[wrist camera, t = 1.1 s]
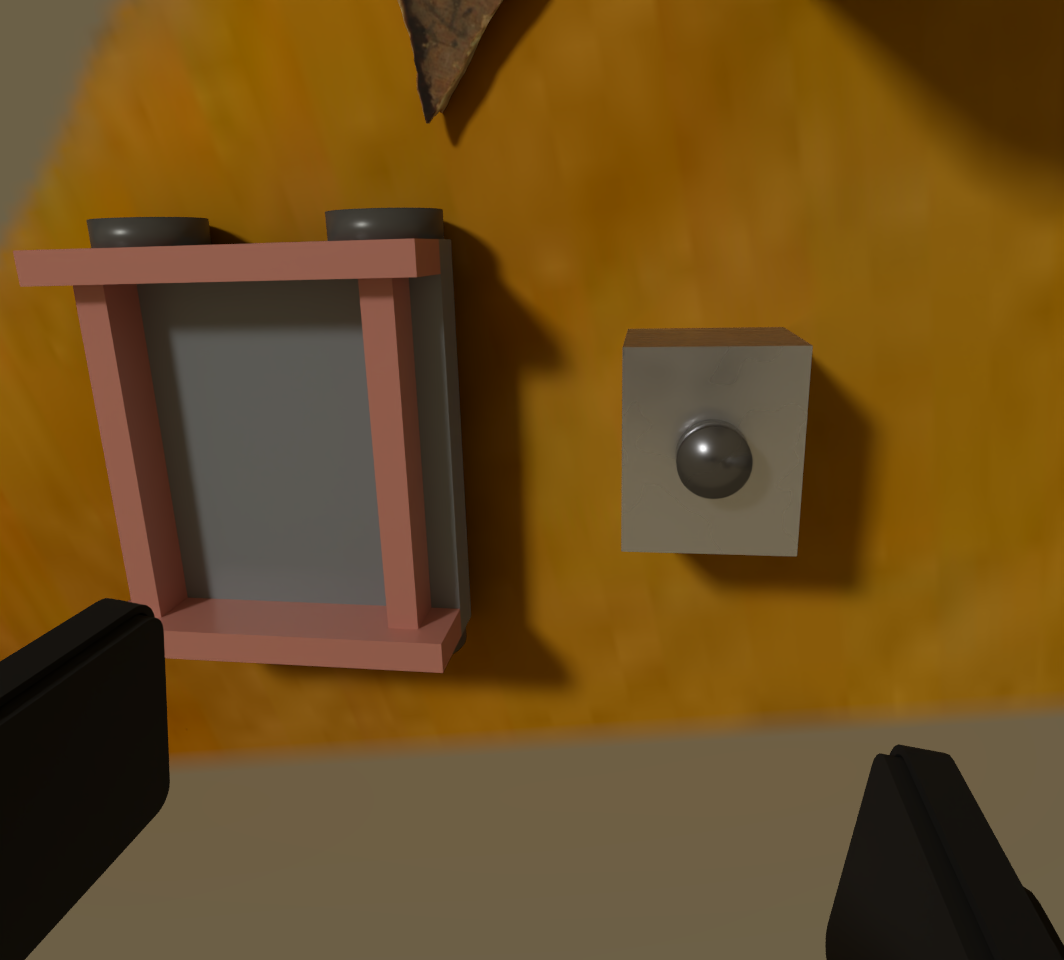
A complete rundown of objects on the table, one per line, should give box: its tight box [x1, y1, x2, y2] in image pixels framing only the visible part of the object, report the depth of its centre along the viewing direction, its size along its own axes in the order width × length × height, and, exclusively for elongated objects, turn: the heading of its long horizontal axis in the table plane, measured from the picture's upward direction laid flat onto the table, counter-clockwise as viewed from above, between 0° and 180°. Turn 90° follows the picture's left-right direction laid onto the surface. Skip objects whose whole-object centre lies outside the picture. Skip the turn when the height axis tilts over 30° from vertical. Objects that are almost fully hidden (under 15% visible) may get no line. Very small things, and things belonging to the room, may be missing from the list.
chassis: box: [13, 208, 471, 673], centre depth 26 cm, size 12×15×6 cm
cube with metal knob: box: [622, 327, 812, 556], centre depth 24 cm, size 5×6×6 cm
